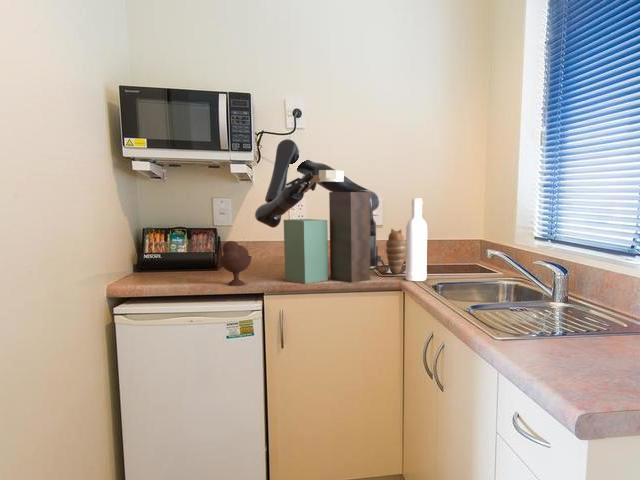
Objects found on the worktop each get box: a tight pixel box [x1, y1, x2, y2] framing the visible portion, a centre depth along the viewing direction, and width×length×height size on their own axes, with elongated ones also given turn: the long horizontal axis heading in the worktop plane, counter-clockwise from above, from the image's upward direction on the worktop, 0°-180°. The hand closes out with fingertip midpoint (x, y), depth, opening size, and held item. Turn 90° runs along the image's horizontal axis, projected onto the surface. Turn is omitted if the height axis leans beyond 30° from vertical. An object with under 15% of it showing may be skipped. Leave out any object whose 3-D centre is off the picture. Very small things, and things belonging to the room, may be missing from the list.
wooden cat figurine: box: [385, 228, 406, 275], centre depth 204 cm, size 9×8×18 cm
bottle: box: [404, 198, 428, 282], centre depth 190 cm, size 8×8×30 cm
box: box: [283, 218, 329, 285], centre depth 186 cm, size 11×11×22 cm
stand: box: [328, 191, 371, 283], centre depth 188 cm, size 10×11×32 cm
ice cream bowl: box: [218, 240, 252, 287], centre depth 176 cm, size 11×11×15 cm
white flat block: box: [302, 169, 345, 183], centre depth 192 cm, size 9×20×4 cm, turn 52°
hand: (314, 174), depth 195 cm, fingers closed on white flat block, 2 cm apart
